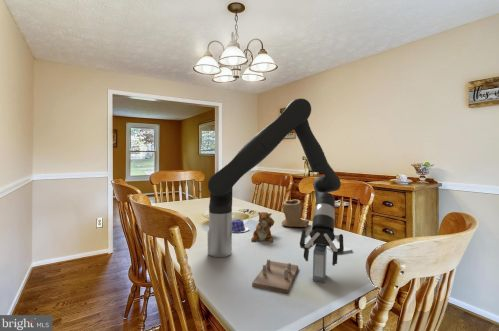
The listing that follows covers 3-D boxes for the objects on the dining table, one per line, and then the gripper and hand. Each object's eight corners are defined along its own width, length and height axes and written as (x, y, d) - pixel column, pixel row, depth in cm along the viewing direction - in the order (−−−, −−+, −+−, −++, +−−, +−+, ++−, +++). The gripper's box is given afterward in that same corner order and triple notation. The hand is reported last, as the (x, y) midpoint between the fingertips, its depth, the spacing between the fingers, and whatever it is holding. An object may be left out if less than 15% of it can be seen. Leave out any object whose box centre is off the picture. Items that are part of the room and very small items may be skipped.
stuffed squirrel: (250, 242, 116) (250, 213, 115) (256, 232, 129) (256, 207, 129) (271, 244, 114) (272, 215, 113) (275, 234, 127) (276, 208, 127)
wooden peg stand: (268, 263, 93) (268, 252, 93) (298, 268, 89) (298, 257, 89) (252, 286, 77) (252, 272, 77) (287, 293, 73) (287, 279, 73)
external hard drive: (336, 256, 102) (318, 245, 114) (352, 253, 105) (333, 243, 117) (336, 252, 102) (318, 241, 114) (352, 249, 105) (333, 239, 116)
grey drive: (315, 273, 86) (315, 244, 86) (326, 274, 85) (326, 245, 84) (312, 281, 80) (313, 250, 80) (324, 283, 79) (325, 252, 79)
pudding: (238, 225, 143) (238, 216, 142) (253, 230, 134) (253, 220, 134) (221, 230, 134) (221, 220, 134) (236, 235, 126) (236, 225, 126)
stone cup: (280, 228, 137) (280, 201, 136) (282, 222, 148) (283, 197, 148) (308, 230, 133) (309, 202, 132) (309, 224, 145) (309, 198, 144)
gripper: (302, 211, 92) (296, 254, 82) (344, 215, 87) (343, 261, 77) (304, 222, 97) (299, 263, 87) (344, 226, 92) (343, 270, 82)
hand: (319, 262), depth 82 cm, fingers open, 8 cm apart
